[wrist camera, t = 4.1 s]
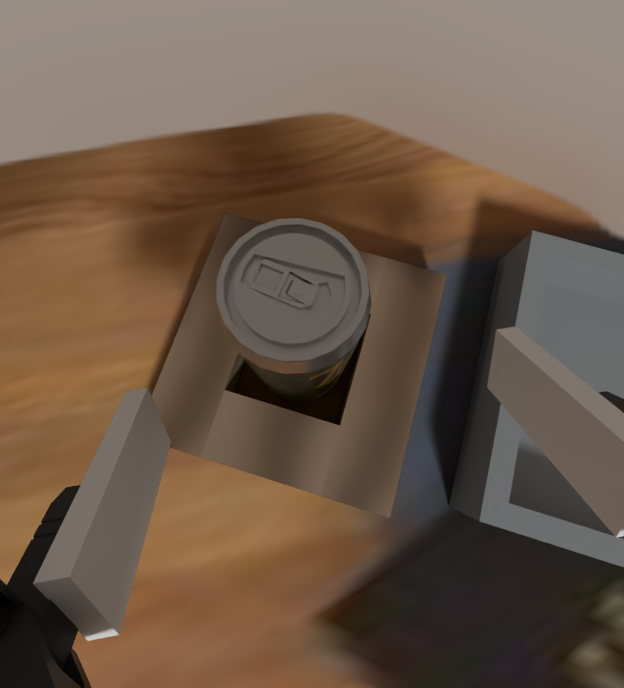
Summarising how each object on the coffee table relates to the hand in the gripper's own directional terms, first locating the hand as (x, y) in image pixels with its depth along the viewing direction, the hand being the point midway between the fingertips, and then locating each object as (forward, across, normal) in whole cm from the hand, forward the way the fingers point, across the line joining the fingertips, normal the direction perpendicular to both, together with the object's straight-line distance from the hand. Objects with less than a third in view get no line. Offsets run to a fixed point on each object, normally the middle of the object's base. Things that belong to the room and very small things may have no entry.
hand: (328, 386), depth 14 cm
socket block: (+8, -1, -4) cm, 9 cm away
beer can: (+9, -1, -4) cm, 10 cm away
